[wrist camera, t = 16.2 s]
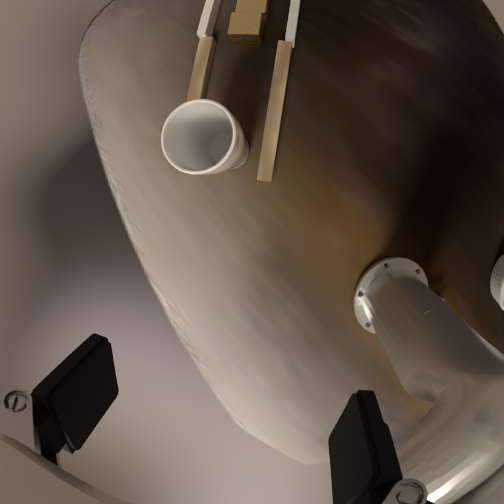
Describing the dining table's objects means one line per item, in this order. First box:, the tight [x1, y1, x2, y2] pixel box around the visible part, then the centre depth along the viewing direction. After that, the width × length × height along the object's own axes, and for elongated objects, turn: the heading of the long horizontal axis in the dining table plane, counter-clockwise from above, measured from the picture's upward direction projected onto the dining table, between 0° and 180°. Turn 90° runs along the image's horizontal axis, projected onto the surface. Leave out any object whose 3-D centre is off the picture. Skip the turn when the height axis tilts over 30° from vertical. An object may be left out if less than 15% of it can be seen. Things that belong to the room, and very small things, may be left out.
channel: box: [176, 37, 292, 182], centre depth 33 cm, size 13×20×2 cm, turn 172°
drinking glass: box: [161, 99, 249, 175], centre depth 29 cm, size 7×7×15 cm
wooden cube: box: [228, 12, 264, 47], centre depth 29 cm, size 4×4×4 cm
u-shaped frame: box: [197, 0, 300, 48], centre depth 28 cm, size 13×11×3 cm
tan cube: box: [235, 0, 269, 26], centre depth 28 cm, size 4×4×4 cm
